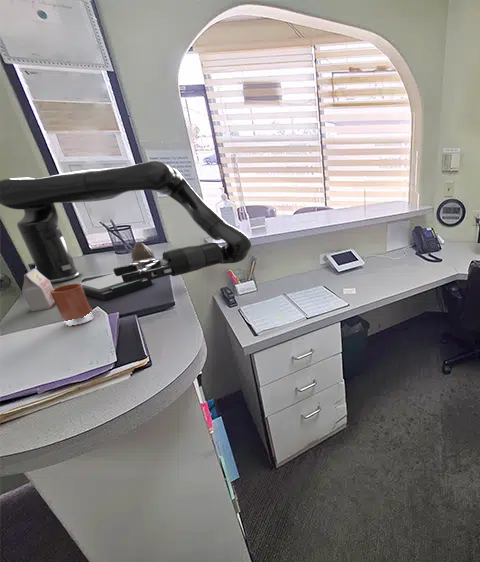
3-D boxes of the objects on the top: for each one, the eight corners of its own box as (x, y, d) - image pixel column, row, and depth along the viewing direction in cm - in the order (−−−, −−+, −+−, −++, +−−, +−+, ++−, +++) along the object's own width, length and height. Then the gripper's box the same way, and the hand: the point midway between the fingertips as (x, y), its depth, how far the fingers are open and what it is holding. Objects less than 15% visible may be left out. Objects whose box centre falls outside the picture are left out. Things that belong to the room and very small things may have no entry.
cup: (61, 324, 76) (45, 290, 72) (87, 314, 80) (74, 282, 77) (72, 328, 73) (57, 293, 70) (99, 318, 78) (85, 285, 75)
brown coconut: (145, 269, 114) (138, 246, 111) (130, 268, 116) (122, 245, 112) (161, 263, 121) (154, 241, 117) (146, 262, 122) (139, 240, 119)
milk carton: (31, 311, 83) (14, 276, 79) (40, 302, 88) (25, 269, 85) (50, 307, 85) (34, 273, 81) (58, 299, 90) (43, 267, 86)
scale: (78, 293, 94) (75, 283, 93) (125, 278, 105) (122, 270, 104) (105, 300, 88) (102, 291, 87) (152, 284, 99) (149, 275, 98)
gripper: (173, 244, 95) (106, 257, 83) (191, 251, 86) (120, 267, 75) (179, 267, 98) (116, 283, 86) (198, 276, 89) (130, 295, 78)
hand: (118, 275), depth 81 cm, fingers open, 8 cm apart
